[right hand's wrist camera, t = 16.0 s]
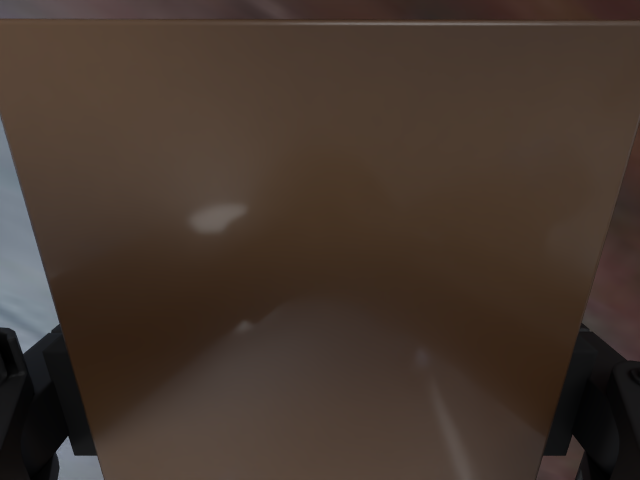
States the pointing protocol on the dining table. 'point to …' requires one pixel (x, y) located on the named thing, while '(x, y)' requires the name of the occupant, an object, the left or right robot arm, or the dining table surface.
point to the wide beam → (320, 233)
